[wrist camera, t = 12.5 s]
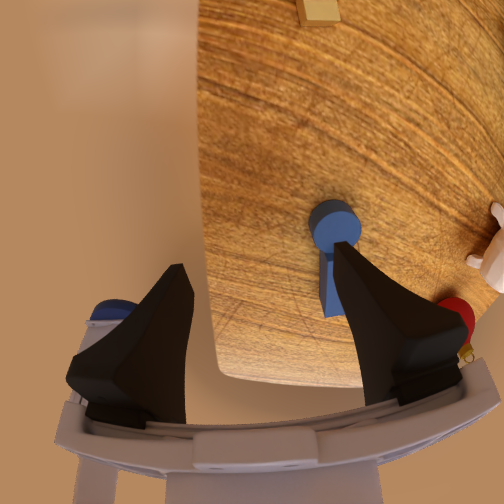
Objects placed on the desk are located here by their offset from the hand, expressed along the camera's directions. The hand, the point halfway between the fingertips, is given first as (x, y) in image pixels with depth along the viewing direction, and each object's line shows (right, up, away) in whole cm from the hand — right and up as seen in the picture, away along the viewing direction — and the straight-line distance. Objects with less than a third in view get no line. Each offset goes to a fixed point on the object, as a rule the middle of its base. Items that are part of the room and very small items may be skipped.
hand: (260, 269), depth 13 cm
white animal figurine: (+29, +3, +10) cm, 31 cm away
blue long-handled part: (+7, +1, +11) cm, 13 cm away
